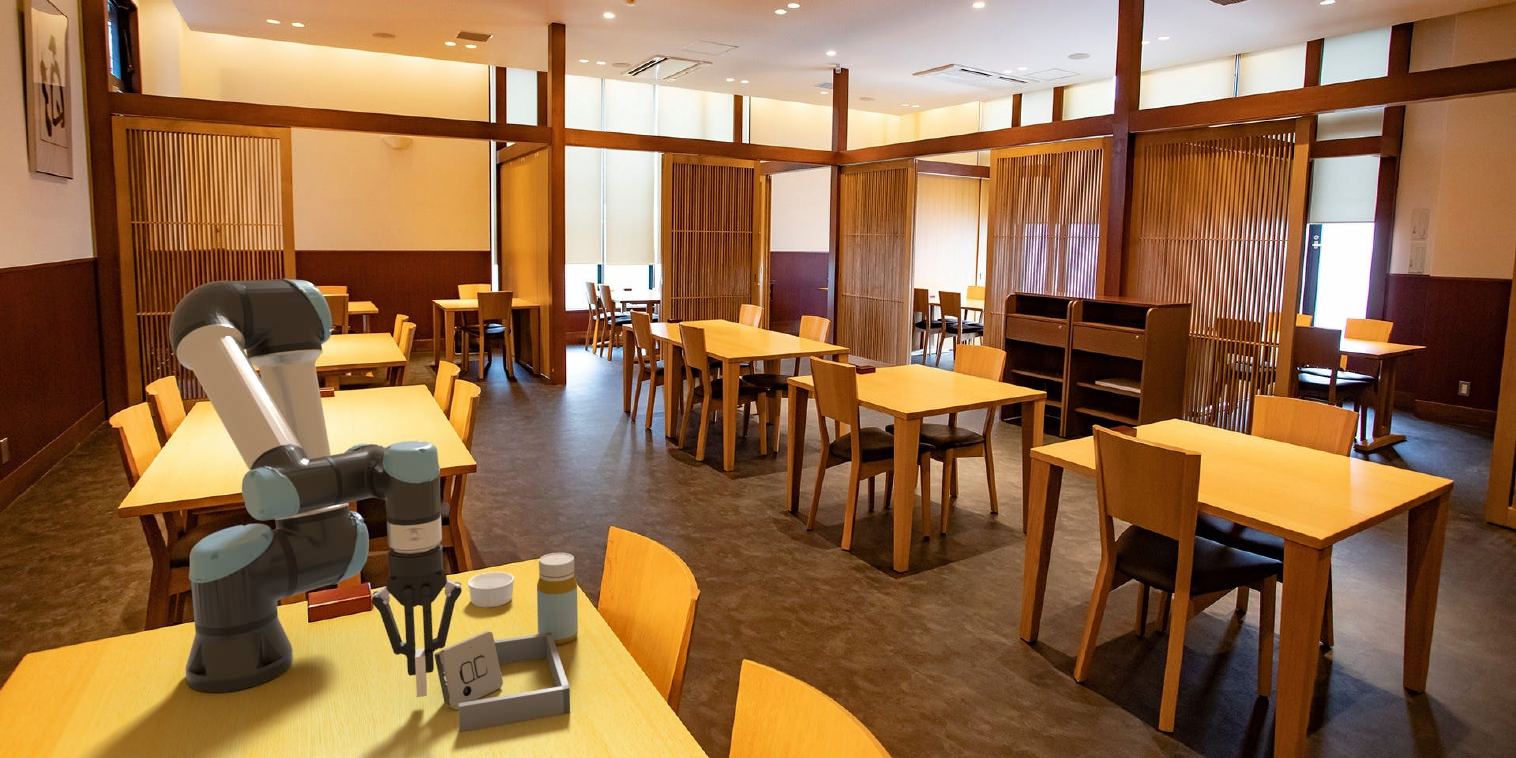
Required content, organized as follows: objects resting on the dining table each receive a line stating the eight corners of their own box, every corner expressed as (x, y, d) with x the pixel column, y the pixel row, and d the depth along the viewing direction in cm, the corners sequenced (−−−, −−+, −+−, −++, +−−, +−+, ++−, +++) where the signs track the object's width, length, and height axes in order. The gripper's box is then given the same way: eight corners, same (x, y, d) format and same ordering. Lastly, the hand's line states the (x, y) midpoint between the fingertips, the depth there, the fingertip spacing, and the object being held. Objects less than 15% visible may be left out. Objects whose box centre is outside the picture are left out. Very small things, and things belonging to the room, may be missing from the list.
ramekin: (460, 607, 168) (459, 586, 168) (481, 589, 177) (480, 569, 176) (502, 611, 167) (501, 590, 166) (522, 593, 175) (521, 573, 175)
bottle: (585, 635, 157) (584, 557, 155) (557, 649, 151) (556, 569, 149) (558, 625, 161) (556, 549, 159) (530, 639, 155) (528, 560, 153)
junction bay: (454, 668, 144) (453, 646, 143) (551, 653, 150) (551, 632, 149) (459, 732, 126) (458, 706, 125) (570, 712, 132) (569, 688, 131)
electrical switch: (454, 712, 131) (448, 654, 130) (434, 704, 134) (428, 647, 133) (504, 687, 138) (499, 632, 137) (484, 680, 141) (479, 626, 140)
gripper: (366, 558, 123) (374, 711, 127) (461, 548, 128) (467, 697, 131) (369, 541, 130) (377, 687, 133) (460, 533, 135) (465, 674, 138)
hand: (421, 692), depth 132 cm, fingers closed
